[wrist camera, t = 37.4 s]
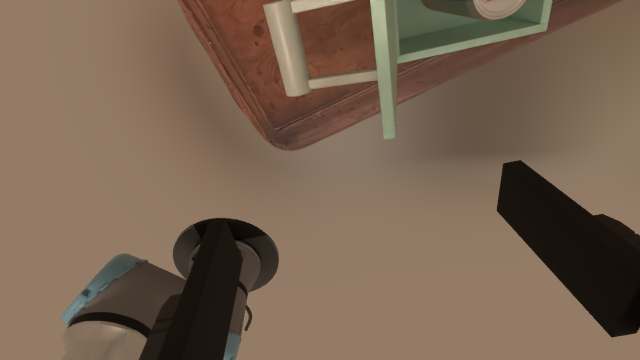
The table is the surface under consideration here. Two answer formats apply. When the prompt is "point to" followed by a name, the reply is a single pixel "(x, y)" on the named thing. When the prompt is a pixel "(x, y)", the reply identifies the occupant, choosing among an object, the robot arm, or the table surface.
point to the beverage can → (476, 8)
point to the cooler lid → (300, 83)
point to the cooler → (459, 28)
